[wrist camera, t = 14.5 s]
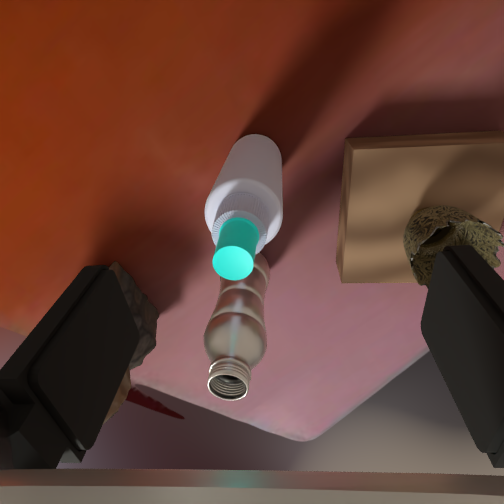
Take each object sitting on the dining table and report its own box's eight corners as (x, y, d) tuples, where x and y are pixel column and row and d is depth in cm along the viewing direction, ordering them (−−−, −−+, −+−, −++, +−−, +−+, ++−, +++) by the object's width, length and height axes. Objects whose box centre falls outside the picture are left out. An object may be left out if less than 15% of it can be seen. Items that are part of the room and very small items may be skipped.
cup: (453, 248, 37) (492, 293, 31) (384, 251, 38) (407, 296, 31) (469, 184, 34) (517, 219, 27) (392, 189, 34) (420, 224, 28)
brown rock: (169, 320, 53) (116, 450, 36) (108, 343, 57) (34, 470, 39) (118, 259, 47) (27, 377, 30) (54, 288, 51) (-59, 408, 34)
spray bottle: (225, 136, 38) (171, 223, 19) (278, 129, 37) (277, 212, 18) (234, 188, 41) (195, 306, 22) (284, 182, 40) (288, 299, 21)
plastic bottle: (253, 233, 44) (237, 350, 27) (279, 270, 47) (279, 399, 29) (213, 253, 46) (174, 375, 29) (240, 288, 49) (219, 418, 32)
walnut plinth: (345, 138, 37) (353, 149, 33) (500, 130, 35) (530, 141, 31) (335, 261, 45) (341, 283, 41) (461, 259, 44) (481, 281, 39)
